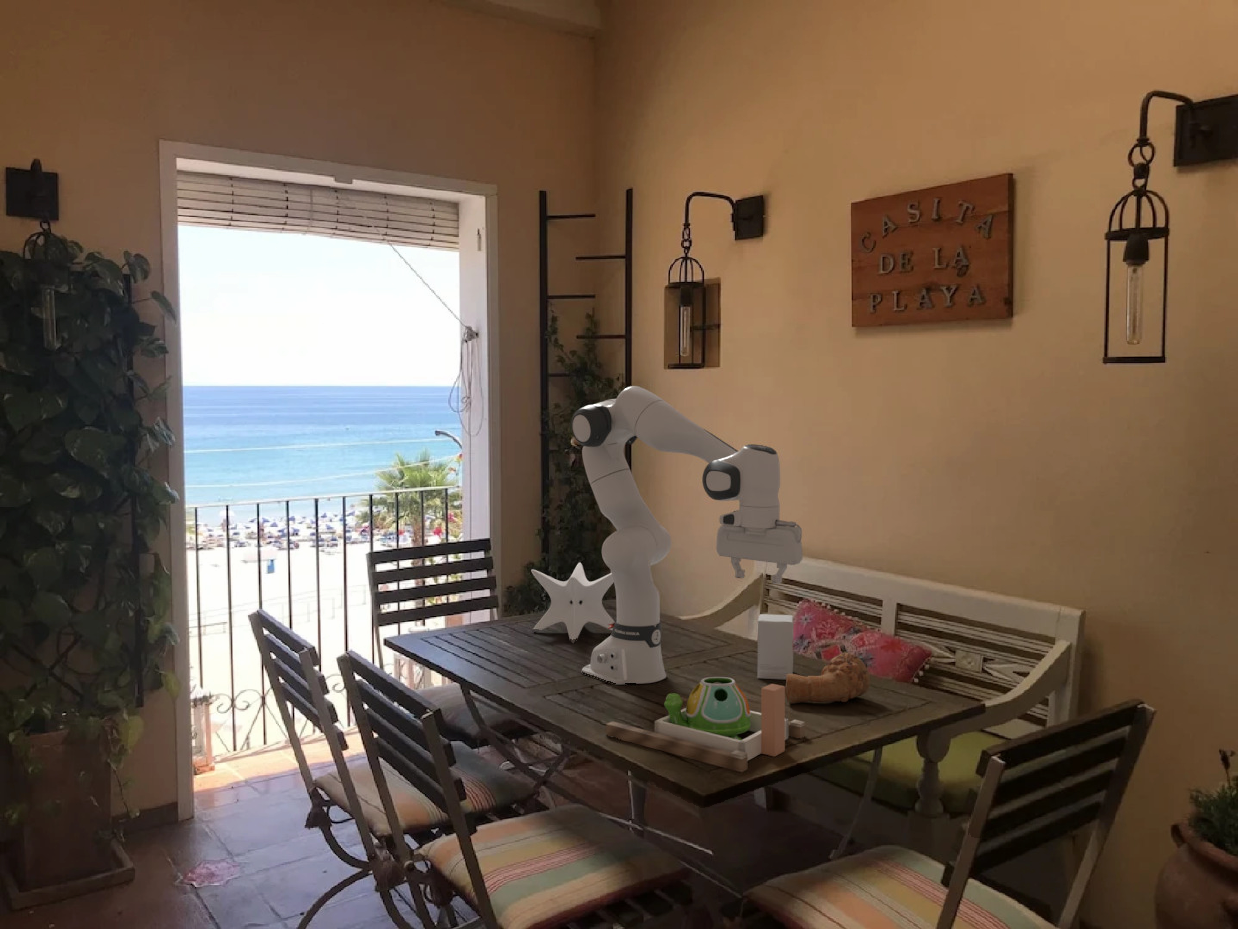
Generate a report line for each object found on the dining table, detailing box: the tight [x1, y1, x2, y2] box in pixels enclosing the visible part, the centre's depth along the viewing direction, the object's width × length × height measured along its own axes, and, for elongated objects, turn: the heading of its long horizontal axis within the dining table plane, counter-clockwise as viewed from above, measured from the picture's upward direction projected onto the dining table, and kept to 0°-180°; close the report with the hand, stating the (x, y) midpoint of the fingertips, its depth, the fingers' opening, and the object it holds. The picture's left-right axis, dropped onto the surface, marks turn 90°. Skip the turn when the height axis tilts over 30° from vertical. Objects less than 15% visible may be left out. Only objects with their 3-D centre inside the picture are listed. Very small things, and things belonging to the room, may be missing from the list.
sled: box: [654, 683, 789, 762], centre depth 191 cm, size 24×18×13 cm
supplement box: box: [757, 613, 794, 681], centre depth 240 cm, size 9×9×15 cm
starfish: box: [530, 562, 615, 640], centre depth 289 cm, size 20×20×20 cm
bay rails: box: [605, 696, 806, 773], centre depth 195 cm, size 33×25×3 cm
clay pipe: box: [785, 652, 872, 705], centre depth 219 cm, size 19×11×15 cm
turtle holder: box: [663, 676, 751, 740], centre depth 194 cm, size 12×18×12 cm
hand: (758, 580), depth 207 cm, fingers open, 8 cm apart
